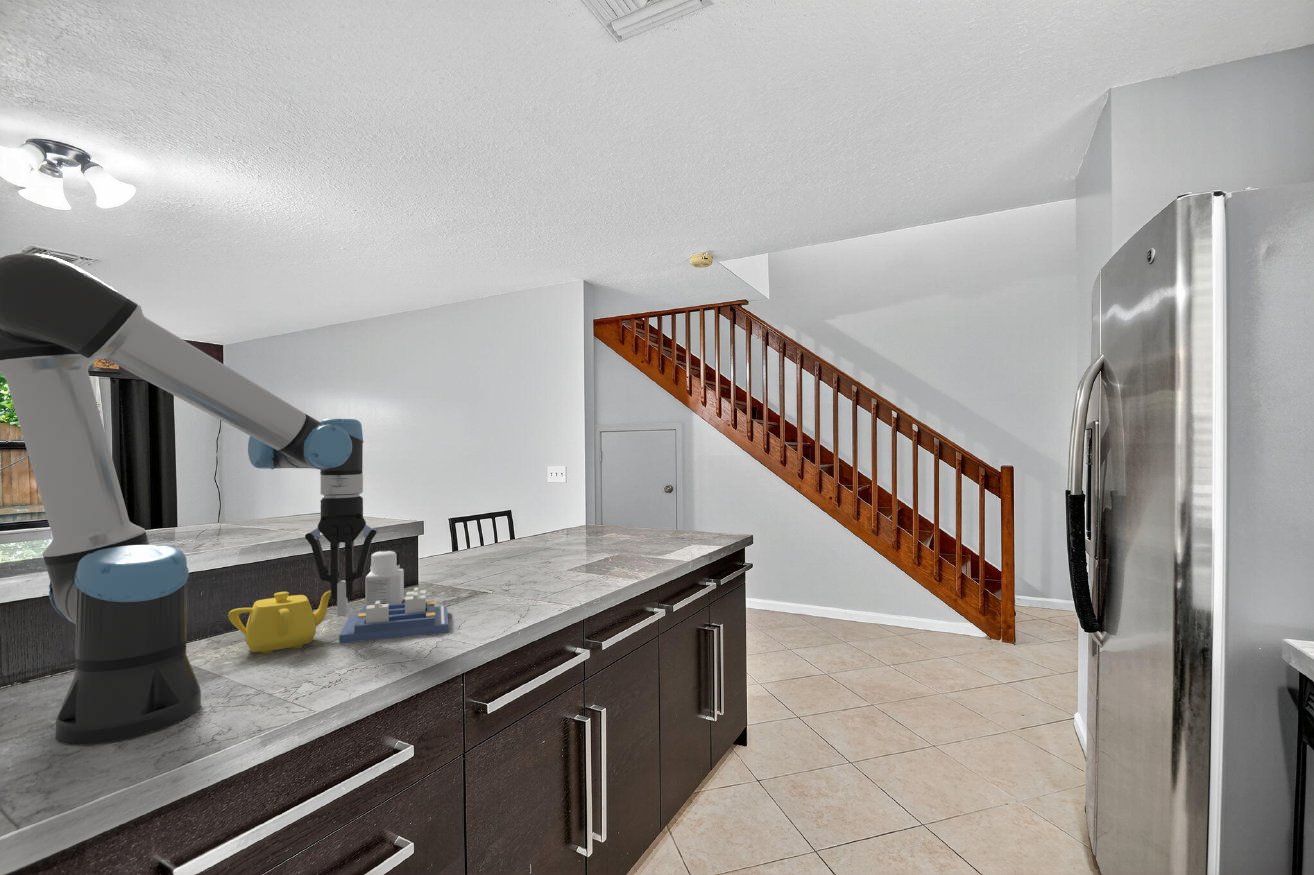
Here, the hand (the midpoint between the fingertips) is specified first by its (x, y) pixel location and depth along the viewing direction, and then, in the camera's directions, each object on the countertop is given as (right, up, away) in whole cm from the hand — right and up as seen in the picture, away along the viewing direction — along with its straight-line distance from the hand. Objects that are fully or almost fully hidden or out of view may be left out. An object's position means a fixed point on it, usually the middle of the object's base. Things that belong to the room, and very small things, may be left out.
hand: (342, 614), depth 119 cm
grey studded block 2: (+9, -3, +14) cm, 17 cm away
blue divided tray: (+8, -5, +8) cm, 12 cm away
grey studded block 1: (+6, -3, +2) cm, 7 cm away
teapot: (-9, -5, -4) cm, 11 cm away
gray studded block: (+11, -3, +9) cm, 15 cm away
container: (-4, -6, +27) cm, 28 cm away
